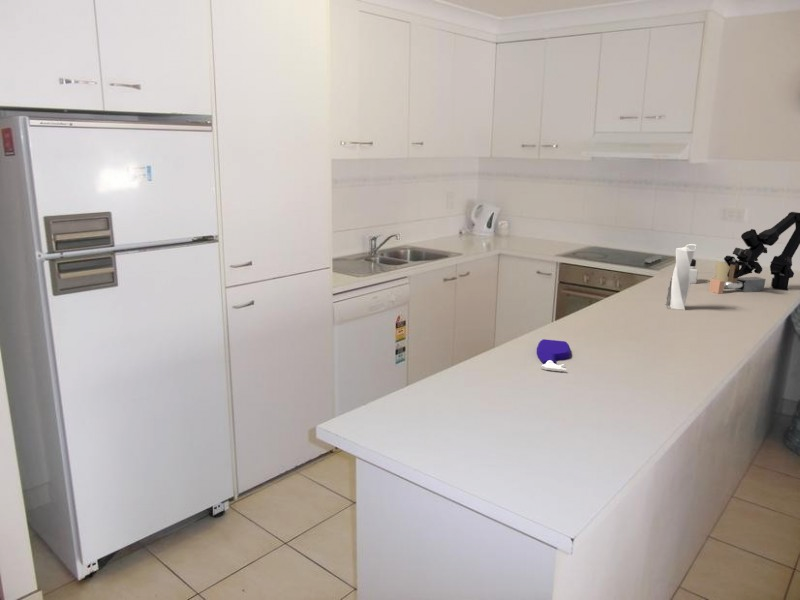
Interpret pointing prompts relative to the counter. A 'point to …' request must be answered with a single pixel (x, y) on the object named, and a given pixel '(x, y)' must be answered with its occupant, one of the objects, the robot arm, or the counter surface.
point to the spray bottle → (553, 354)
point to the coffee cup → (721, 269)
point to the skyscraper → (680, 279)
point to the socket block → (716, 286)
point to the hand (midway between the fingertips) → (730, 277)
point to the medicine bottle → (693, 272)
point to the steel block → (752, 284)
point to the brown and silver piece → (733, 281)
